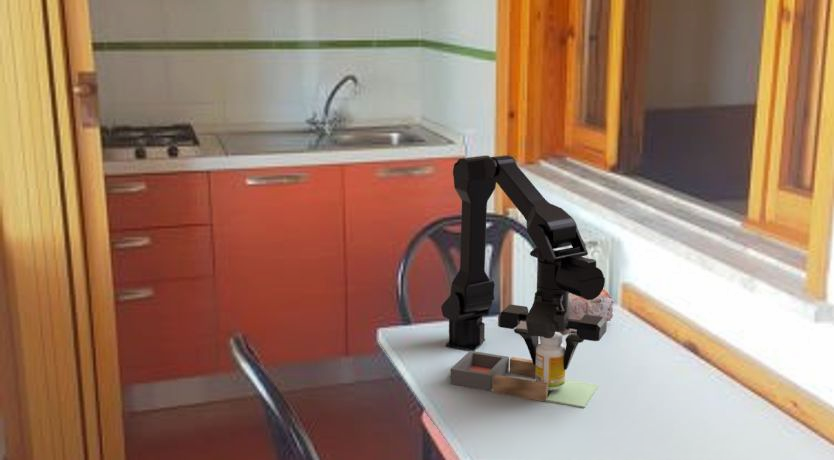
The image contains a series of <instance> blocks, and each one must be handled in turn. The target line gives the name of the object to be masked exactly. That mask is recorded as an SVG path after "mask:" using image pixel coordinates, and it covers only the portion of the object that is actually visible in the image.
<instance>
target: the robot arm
mask: <svg viewBox="0 0 834 460" xmlns="http://www.w3.org/2000/svg"><path fill="white" fill-rule="evenodd" d="M452 176H453V187H454V189H455V191H456V193H457V194H458V196H459V198H460V200H461V217H460V218H461V221H460V222H461V223H460V224H461V225H460V228H461V229H460V254H459V256H460V257H459V261H460V262H459V270H458V272H457V274H455V277H454V278H453V280H452V281H451V287H450V288H451V289H450V294H449V296H448V297H447V299H446V300H445V301H444V302H443V303H442V305H441V314H442V317H444V318H445V319H447V320H448V341H447V342H445V347H447V348H448V347H449V348H455V349H461V350H467V351H475V350H477V349H478V348H479V347H481V345H482V344H483V343H484V342H486V338H485V325H486V324H485V322H483V317H484V316H489V315H490V311H491V307H492V305H493V303H494V302H493V301H494V300H495V291H494V290H495V286H496V285H495V282H494V280H492V279H491V280H490V278H489V276H488V275H487V272H486V268H485V267H486V244H487V242H486V241H487V240H486V239H487V213H488V201H489V199H490V198H491V196H492V194H493V193H494V191H495V190H496V187H497V185H498V186H499V187H500V189H501V191H503V192H504V194H505V195H506V197H507V198H508V199H509V200H510V201H511V202H512V204H513V205H514V207H515V208H516V209H517V210H518V211H519V213H520V214H521V215H522V216H523V218H524V219H525V220H524V221H526V232H527V234H528V235H529V237H530V239H531V241H532V243H533V244H534V246H535V248H534V249H532V250H531V251H530V252H529V255H530V257H533V258H536V259H537V261H536V262H537V263H536V264H537V266H536V267H537V268H536V291H535V292H534V300H533V303H532V306H531V307H530V310H529V308H528V306H524V305H518V304H508V305H507V306H506V307H505V308H504V309H502V311H501V312H499V313H498V317H497V326H498V328H504V329H510V330H513V332H514V333H515V334H517V335H519V336H520V337H521V338H523V340H524V342H525V345H526V348H527V349H528V352H529V355H530V358H531V359H530V360H532V361H533V364H534V365H536V348H537V346H538V345H539V337H540V336H541V337H544V338H552V337H553V336H554V334H555V332H558V331H565V329H568V330H569V333H568V335H567V336H566V338H565V339H564V340H565V345H566V346H565V349H566V351H565V358H564V370H565V371H567V370H568V369H569V366H570V363H571V361H572V358H573V356H574V354H575V352H576V349H577V348H578V347H577V346H578V345H579V344H580V343H583V342H584V341H590V342H591V341H592V342H599V341H600V340H601V339H602V338H603V336H604V335H605V334H606V332H607V327H608V326H607V324H608V322H607V323H606V320H605V319H604V317H599V316H591V315H584V316H583V318H582V319H581V320H575V319H568V315H569V312H570V309H568V304H569V293H571V294H574V295H576V296H579V297H581V298H584V299H586V300H593V299H595V298H596V297H598V296H599V295H600V293H601V292H602V290H603V288H605V284H606V277H605V276H604V272H603V271H602V270H601V269H600V268H599V267H597V260H596V259H594V258H587V257H586V256H588V255H589V253H588V250H587V248H586V244H585V243H586V242H585V241H584V239H583V238H582V236H581V233H580V231H579V228H578V225H577V222H576V221H575V220H574V218H573V217H572V216H571V215H570V214H569V213H568V212H567V211H566V210H564V209H563V208H561V207H560V206H557V205H555V204H553V203H550V202H549V201H547V199H546V198H545V197H544V196H543V195H542V194H541V192H540V191H539V190H538V189H537V187H536V186H535V185H534V184H533V183H532V181H531V180H530V179H529V178H528V177H527V176H526V175H525V173H524V172H523V171H522V169H520V166H518V164H517V160H516V159H515V158H514V157H513V156H511V155H508V154H505V155H504V154H503V155H495V156H489V155H478V156H470V157H462V158H459V159H458V160H457V161H456V162H455V163H453V169H452ZM565 247H566V248H565ZM560 248H561V249H560ZM555 249H558V250H555Z"/></svg>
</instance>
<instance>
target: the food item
mask: <svg viewBox="0 0 834 460" xmlns="http://www.w3.org/2000/svg"><path fill="white" fill-rule="evenodd" d="M614 301H615V300H614V297H612V295H610V293H609V292H608V290H607V289H606V288H605V287H604V288H603V290H602V292H601V293H600V295H599V296H598V297H596V298H595V299H593V300H586V299H584V298H581V297H579V296H576V295H574V294H571V293H569V304H568V309H570V312H569V315H568V319H575V320H581V319H582V318H583V316H584V315H591V316H599V317H604V319H605V320H606V323H607V324H608V321H609V322H611V319H612V318H613V317H614V314H613V312H614ZM558 332H559V333H561V334H562V335H565V334H570V332H569V330H568V329H565V331H558Z"/></svg>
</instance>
